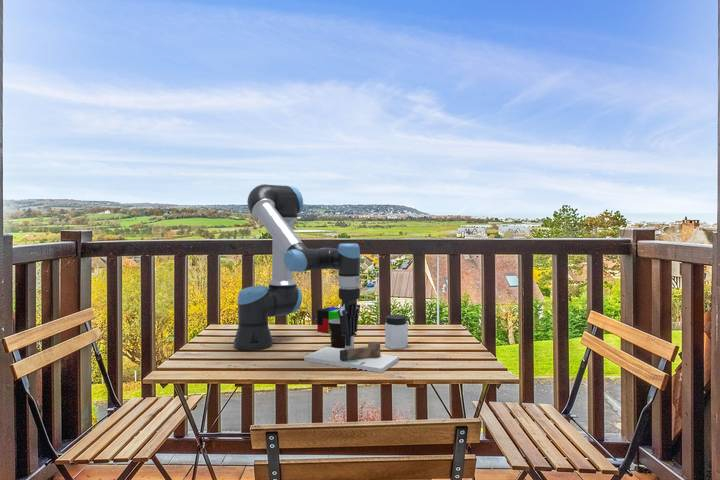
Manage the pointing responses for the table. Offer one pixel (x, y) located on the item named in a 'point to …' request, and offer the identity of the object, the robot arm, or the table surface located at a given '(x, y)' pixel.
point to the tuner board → (352, 360)
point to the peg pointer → (361, 352)
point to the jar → (396, 332)
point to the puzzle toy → (326, 318)
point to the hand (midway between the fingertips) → (349, 354)
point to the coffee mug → (336, 334)
